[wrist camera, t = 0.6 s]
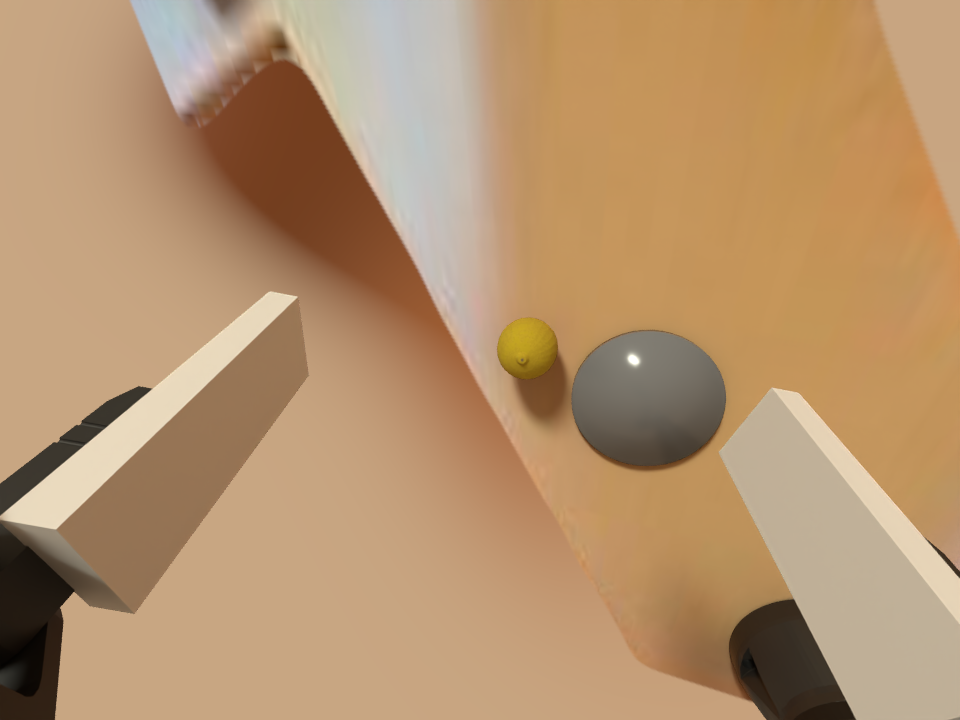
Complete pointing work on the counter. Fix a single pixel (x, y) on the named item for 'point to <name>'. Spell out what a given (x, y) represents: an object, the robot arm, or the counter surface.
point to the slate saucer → (648, 398)
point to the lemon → (527, 348)
